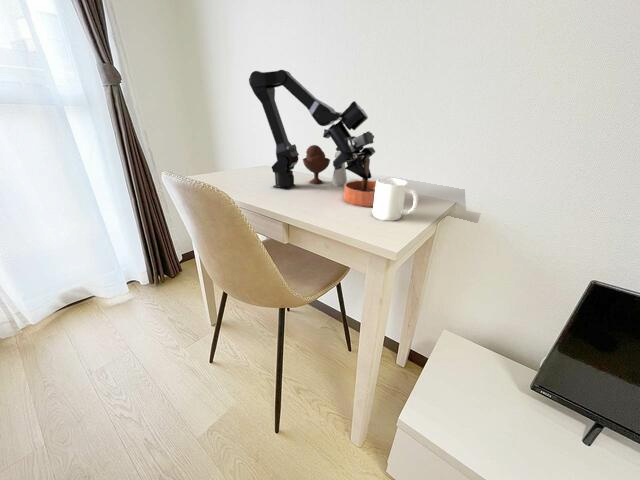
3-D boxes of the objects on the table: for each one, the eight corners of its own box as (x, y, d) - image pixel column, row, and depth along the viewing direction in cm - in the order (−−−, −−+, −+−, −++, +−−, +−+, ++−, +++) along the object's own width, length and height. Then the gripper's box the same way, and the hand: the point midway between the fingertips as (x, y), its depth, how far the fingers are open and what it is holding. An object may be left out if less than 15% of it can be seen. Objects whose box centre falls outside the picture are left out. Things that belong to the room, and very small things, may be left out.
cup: (378, 208, 81) (383, 176, 76) (417, 217, 75) (424, 182, 70) (367, 216, 75) (371, 182, 70) (409, 226, 69) (416, 189, 64)
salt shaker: (343, 182, 108) (344, 150, 102) (348, 186, 104) (350, 152, 98) (330, 183, 107) (331, 150, 101) (334, 187, 102) (336, 153, 96)
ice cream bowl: (329, 186, 103) (330, 146, 97) (301, 185, 104) (301, 146, 97) (329, 179, 113) (330, 143, 106) (303, 179, 113) (303, 142, 106)
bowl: (336, 202, 85) (337, 188, 83) (351, 191, 97) (352, 178, 94) (379, 210, 80) (381, 194, 77) (389, 197, 91) (392, 183, 89)
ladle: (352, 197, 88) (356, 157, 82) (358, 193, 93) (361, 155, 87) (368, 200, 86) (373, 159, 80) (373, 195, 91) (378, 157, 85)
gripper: (343, 123, 74) (373, 167, 73) (373, 121, 87) (399, 159, 87) (321, 148, 82) (347, 189, 81) (351, 144, 95) (375, 178, 94)
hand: (368, 178), depth 86 cm, fingers closed on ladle
